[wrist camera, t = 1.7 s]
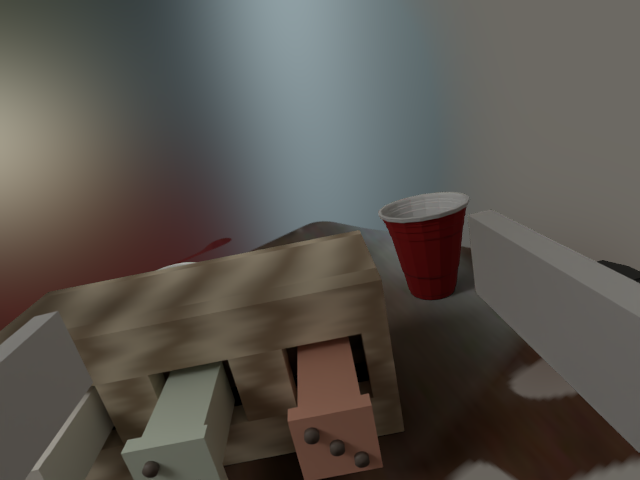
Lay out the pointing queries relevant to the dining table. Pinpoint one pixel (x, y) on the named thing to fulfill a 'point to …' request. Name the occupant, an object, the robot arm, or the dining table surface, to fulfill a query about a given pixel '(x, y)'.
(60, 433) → the button
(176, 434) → the button
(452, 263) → the plastic cup
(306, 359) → the button
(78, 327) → the console
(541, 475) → the dining table surface
